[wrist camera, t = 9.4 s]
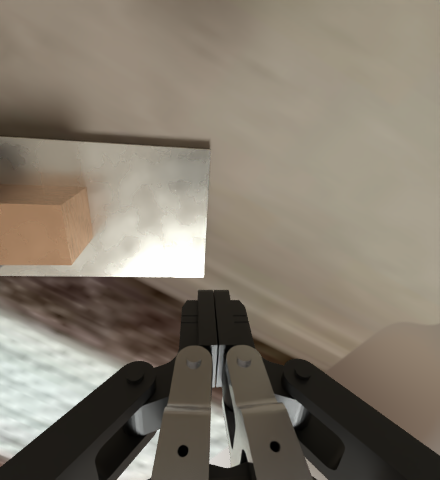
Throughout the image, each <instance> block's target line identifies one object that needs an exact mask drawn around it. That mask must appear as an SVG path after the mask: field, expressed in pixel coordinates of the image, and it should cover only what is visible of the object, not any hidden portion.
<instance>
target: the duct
mask: <svg viewBox="0 0 440 480" xmlns="http://www.w3.org/2000/svg"><path fill="white" fill-rule="evenodd" d="M92 239H93V232H92V225H91V217H90V210H89V202H88V195H87V187H68V186H40V185H12V184H0V265H72V264H73V263H74V262H75V260H76V259H77V258H78V256H79V255H80V254H81V253H82V251H83V250H84V249H85V247H86V246H87V245H88V244H89V242H90V241H91V240H92Z"/></svg>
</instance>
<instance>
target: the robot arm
mask: <svg viewBox="0 0 440 480" xmlns="http://www.w3.org/2000/svg"><path fill="white" fill-rule="evenodd" d="M215 377H216V387H222V392H223V399H222V408H223V415H224V421H225V427H226V433H227V439H228V445H229V452H230V462H231V468H223V467H219V466H215V465H211V464H209V452H210V420H211V395H212V387H215ZM158 429H160V434H159V439H158V444H157V450H156V455H155V460H154V466H153V471H152V476H151V478H150V479H148V480H316V479H315V478H314V477H312V476H311V473H310V470H309V468H308V465H307V463H306V460H305V457H306V458H307V459H308V460H309V461H310V462H311V463H312V464H313V465H314V466H315V467H316V468H317V469H318V470H319V471H320V472H321V473H322V474H323V475H324V476H325V477H326V478H327V479H328V480H440V456H439V455H438V454H436V453H435V452H434V451H432V450H431V449H429V448H428V447H427V446H425V445H424V444H423V443H421V442H420V441H418V440H417V439H416V438H414V437H413V436H411V435H410V434H409V433H407V432H406V431H405V430H403V429H402V428H400V427H399V426H398V425H396V424H395V423H393V422H392V421H391V420H389V419H388V418H386V417H385V416H384V415H382V414H381V413H380V412H378V411H377V410H375V409H374V408H373V407H371V406H370V405H368V404H367V403H366V402H364V401H363V400H361V399H360V398H359V397H357V396H356V395H354V394H353V393H352V392H350V391H349V390H348V389H346V388H345V387H343V386H342V385H341V384H339V383H338V382H336V381H335V380H334V379H332V378H331V377H329V376H328V375H327V374H325V373H324V372H323V371H321V370H320V369H318V368H317V367H316V366H314V365H313V364H311V363H310V362H308V361H306V360H302V359H291V360H289V361H287V362H286V363H285V365H284V366H283V365H279V364H276V363H272V362H269V361H267V360H265V359H264V358H262V357H261V355H260V354H259V352H258V351H257V350H256V349H255V346H254V342H253V338H252V334H251V330H250V325H249V321H248V317H247V313H246V309H245V306H244V305H243V304H242V303H241V302H240V301H239V300H230V295H229V290H214V292H213V290H198V300H187V301H186V303H185V304H184V306H183V307H182V317H181V330H180V344H179V351H178V354H177V355H176V357H175V358H174V359H173V360H172V361H170V362H169V363H167V364H164V365H162V366H158V367H155V368H153V366H152V365H151V364H149V363H147V362H144V361H135V362H131V363H129V364H127V365H125V366H124V367H122V368H121V369H120V370H119V371H117V372H116V373H115V374H114V375H112V376H111V377H110V378H109V379H108V380H106V381H105V382H104V383H103V384H101V385H100V386H99V387H98V388H97V389H95V390H94V391H93V392H92V393H90V394H89V395H88V396H87V397H86V398H84V399H83V400H82V401H81V402H79V403H78V404H77V405H76V406H75V407H73V408H72V409H71V410H70V411H68V412H67V413H66V414H65V415H64V416H62V417H61V418H60V419H59V420H57V421H56V422H55V423H54V424H53V425H51V426H50V427H49V428H48V429H46V430H45V431H44V432H43V433H42V434H40V435H39V436H38V437H37V438H36V439H34V440H33V441H32V442H31V443H29V444H28V445H27V446H26V447H25V448H23V449H22V450H21V451H20V452H18V453H17V454H16V455H15V456H14V457H12V458H11V459H10V460H9V461H7V462H6V463H5V464H4V465H3V466H1V467H0V480H117V478H118V477H119V476H120V475H121V474H122V473H123V471H124V470H125V469H126V468H127V467H128V466H129V464H130V463H131V462H132V461H133V460H134V459H135V457H136V456H137V455H138V454H139V453H140V452H141V450H142V449H143V448H144V447H145V446H146V445H147V443H148V442H149V441H150V440H151V439H152V438H153V436H154V435H155V433H156V431H157V430H158ZM304 456H305V457H304Z"/></svg>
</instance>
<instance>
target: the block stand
mask: <svg viewBox="0 0 440 480" xmlns="http://www.w3.org/2000/svg"><path fill="white" fill-rule="evenodd" d="M209 168H210V149H202V148H186V147H170V146H154V145H138V144H122V143H106V142H90V141H74V140H58V139H42V138H26V137H10V136H0V184H12V185H40V186H68V187H87V195H88V202H89V210H90V217H91V225H92V232H93V239H92V240H91V241H90V242H89V244H88V245H87V246H86V247H85V249H84V250H83V251H82V253H81V254H80V255H79V256H78V258H77V259H76V260H75V262H74V263H73V264H72V265H0V276H104V277H204V261H205V242H206V223H207V205H208V186H209Z"/></svg>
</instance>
